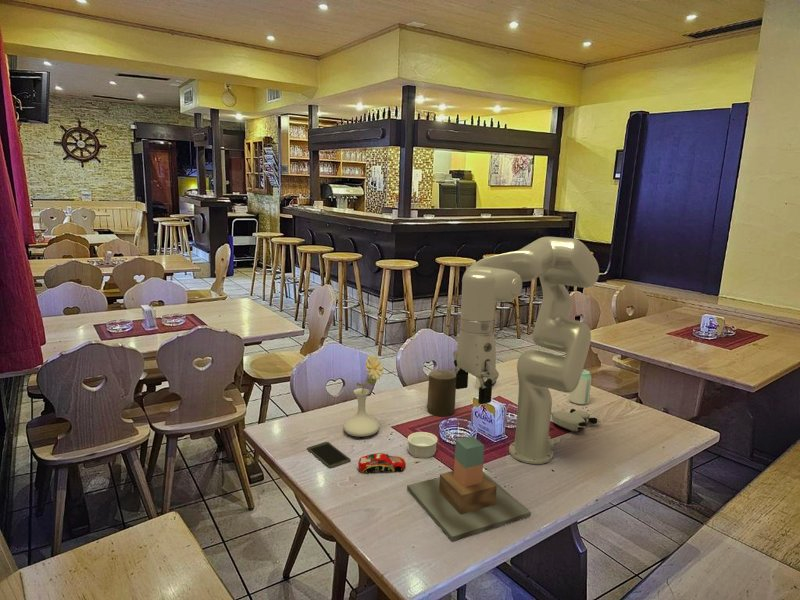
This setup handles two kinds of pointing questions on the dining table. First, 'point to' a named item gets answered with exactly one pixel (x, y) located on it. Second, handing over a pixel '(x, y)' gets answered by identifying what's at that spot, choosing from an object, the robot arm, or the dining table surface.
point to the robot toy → (573, 419)
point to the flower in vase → (362, 421)
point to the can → (582, 389)
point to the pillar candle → (441, 393)
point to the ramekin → (422, 444)
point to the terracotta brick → (468, 474)
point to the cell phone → (329, 455)
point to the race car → (381, 463)
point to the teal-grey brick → (469, 452)
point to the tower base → (468, 519)
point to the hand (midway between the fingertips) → (472, 395)
